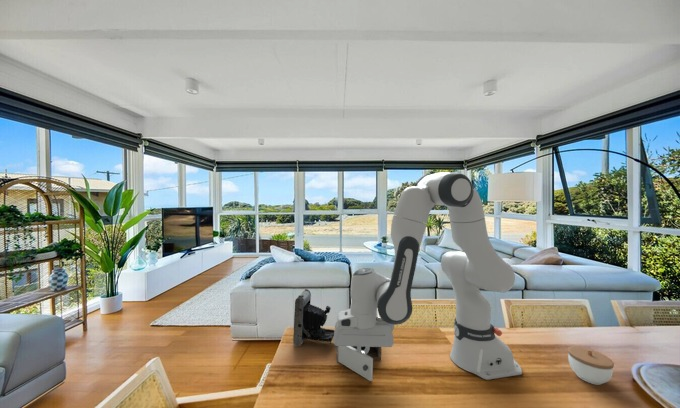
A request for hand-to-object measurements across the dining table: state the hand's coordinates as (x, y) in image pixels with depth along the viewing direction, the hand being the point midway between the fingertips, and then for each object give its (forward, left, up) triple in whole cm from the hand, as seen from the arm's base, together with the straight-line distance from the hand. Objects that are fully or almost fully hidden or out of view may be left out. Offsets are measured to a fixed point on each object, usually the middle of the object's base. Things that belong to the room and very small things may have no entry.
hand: (362, 357), depth 84 cm
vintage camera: (+18, -17, -5) cm, 25 cm away
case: (+1, -12, -5) cm, 13 cm away
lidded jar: (-75, +2, -5) cm, 76 cm away
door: (+3, 0, -4) cm, 6 cm away
